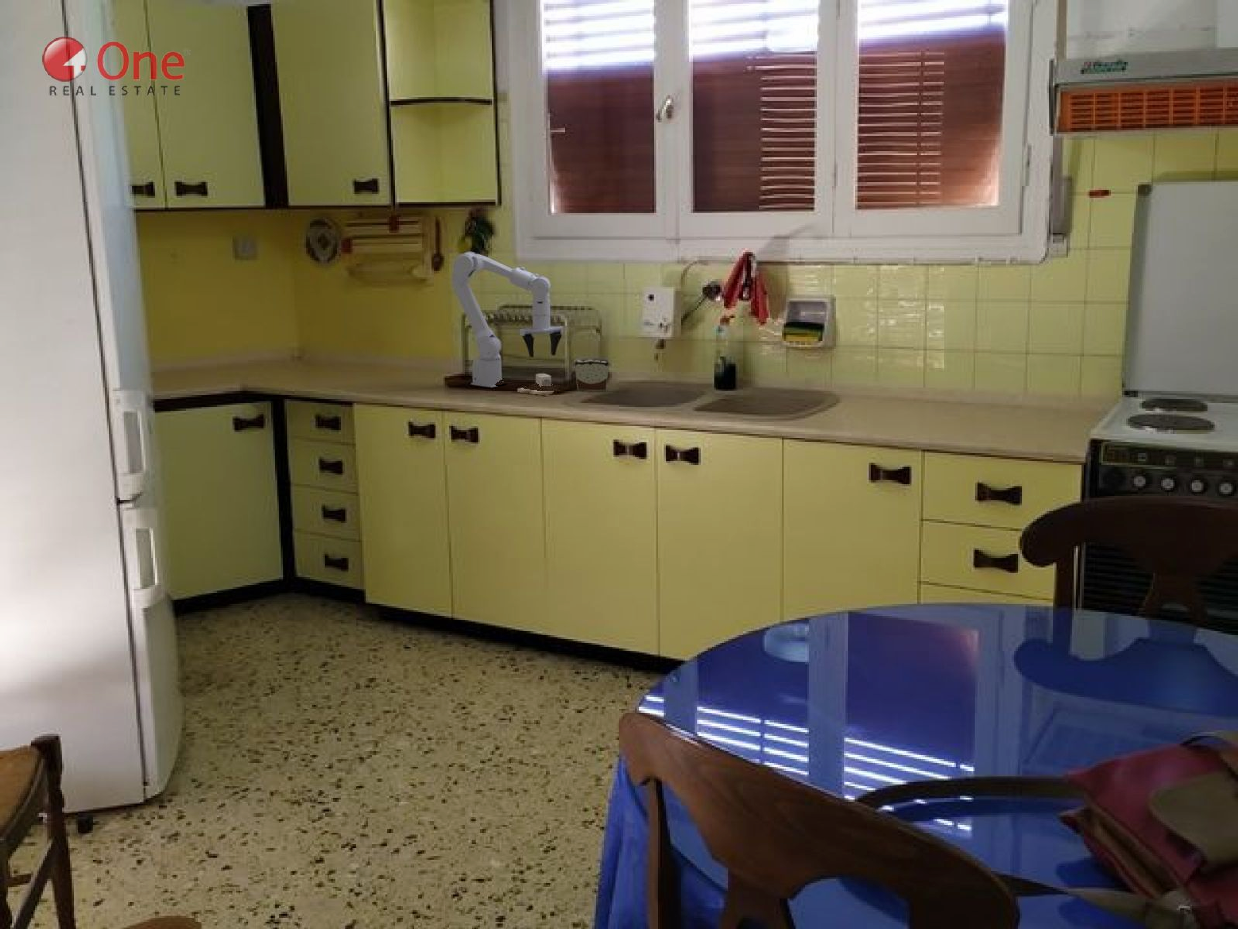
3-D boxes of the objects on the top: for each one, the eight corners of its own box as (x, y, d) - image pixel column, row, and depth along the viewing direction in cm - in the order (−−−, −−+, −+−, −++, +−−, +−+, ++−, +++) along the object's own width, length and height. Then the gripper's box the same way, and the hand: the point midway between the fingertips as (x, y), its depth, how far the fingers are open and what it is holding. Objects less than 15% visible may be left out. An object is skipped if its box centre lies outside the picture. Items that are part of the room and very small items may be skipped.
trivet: (517, 391, 379) (517, 388, 379) (541, 385, 388) (541, 382, 388) (546, 396, 372) (546, 392, 372) (569, 389, 381) (569, 386, 381)
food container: (612, 387, 386) (612, 357, 383) (610, 390, 380) (610, 360, 377) (575, 386, 387) (575, 356, 384) (573, 390, 381) (572, 359, 378)
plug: (534, 386, 382) (534, 374, 381) (544, 385, 384) (544, 373, 383) (542, 390, 376) (542, 378, 375) (553, 389, 377) (552, 377, 376)
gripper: (524, 317, 377) (525, 359, 380) (566, 314, 382) (567, 356, 386) (517, 314, 383) (518, 356, 386) (558, 312, 388) (559, 352, 392)
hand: (542, 355), depth 386 cm, fingers open, 7 cm apart
